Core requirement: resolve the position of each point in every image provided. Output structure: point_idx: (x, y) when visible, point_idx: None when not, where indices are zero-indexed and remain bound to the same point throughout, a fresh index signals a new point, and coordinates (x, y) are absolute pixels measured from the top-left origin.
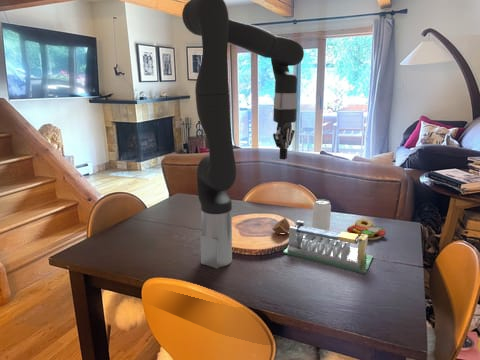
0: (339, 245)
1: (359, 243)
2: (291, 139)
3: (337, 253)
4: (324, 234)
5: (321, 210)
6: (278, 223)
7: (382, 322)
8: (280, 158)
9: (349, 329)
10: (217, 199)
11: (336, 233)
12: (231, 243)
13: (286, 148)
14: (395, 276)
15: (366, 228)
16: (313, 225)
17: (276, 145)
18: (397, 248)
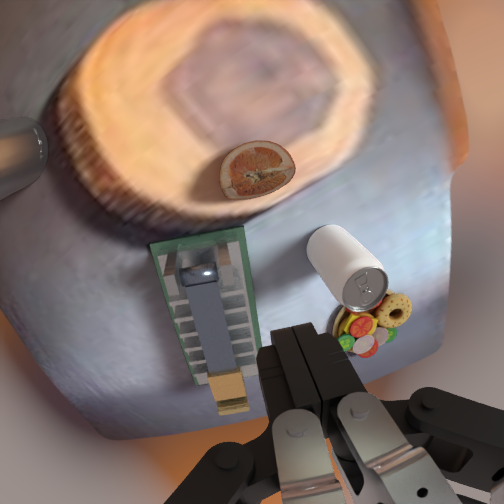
0: None
1: (217, 402)
2: (453, 461)
3: None
4: (203, 349)
5: (332, 291)
6: (258, 160)
7: (109, 418)
8: (271, 338)
9: (69, 399)
10: None
11: (228, 363)
12: (12, 192)
13: (328, 435)
14: None
15: (363, 335)
16: (316, 244)
17: (193, 470)
18: None
